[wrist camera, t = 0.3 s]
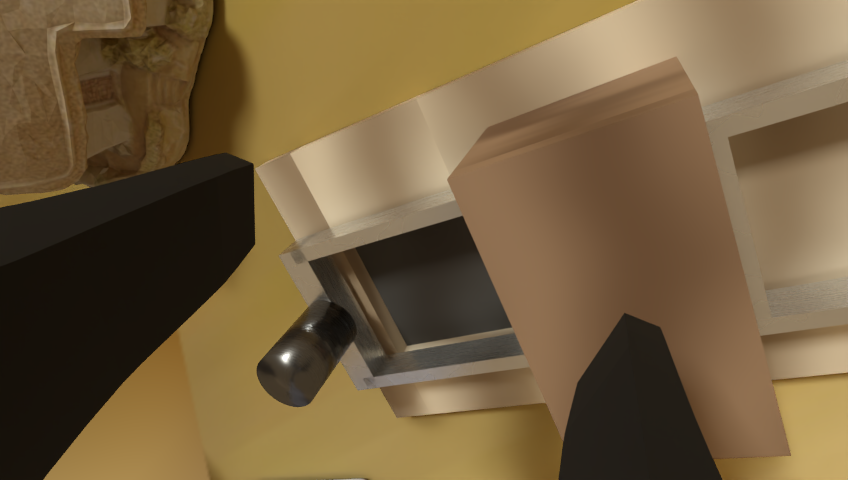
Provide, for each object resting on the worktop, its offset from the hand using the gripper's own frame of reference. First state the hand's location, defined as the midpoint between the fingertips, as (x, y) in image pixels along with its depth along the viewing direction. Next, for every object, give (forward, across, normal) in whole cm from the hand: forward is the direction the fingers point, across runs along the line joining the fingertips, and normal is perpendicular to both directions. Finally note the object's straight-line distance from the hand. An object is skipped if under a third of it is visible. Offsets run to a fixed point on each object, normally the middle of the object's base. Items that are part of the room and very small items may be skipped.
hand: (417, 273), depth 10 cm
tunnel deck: (+10, -5, +4) cm, 12 cm away
